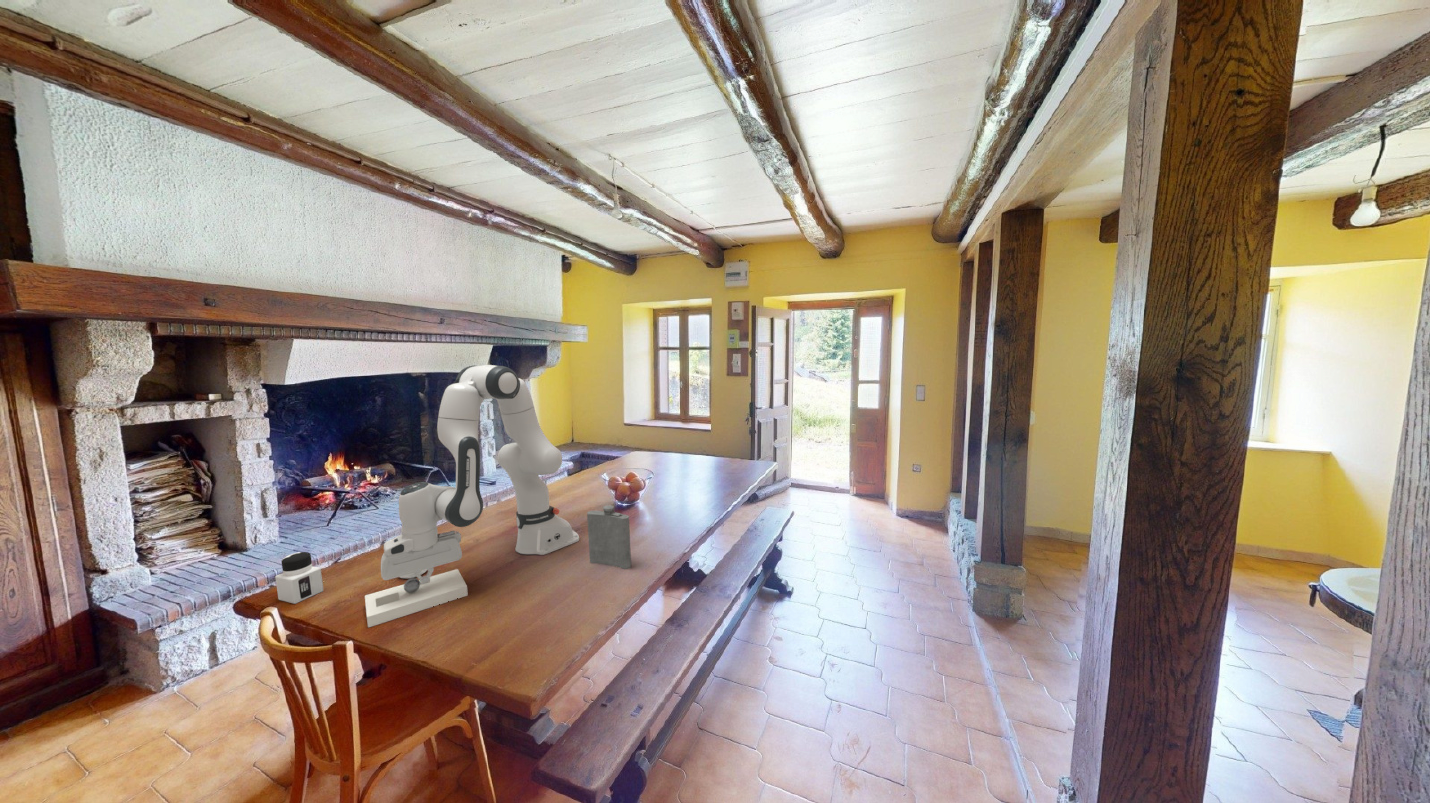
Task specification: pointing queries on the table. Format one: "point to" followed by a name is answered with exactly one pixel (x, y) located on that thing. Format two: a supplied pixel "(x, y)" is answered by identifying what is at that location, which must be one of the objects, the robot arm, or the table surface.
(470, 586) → the table surface
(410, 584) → the steel ball
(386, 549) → the robot arm
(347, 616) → the table surface
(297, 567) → the container
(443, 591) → the hole board
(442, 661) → the table surface
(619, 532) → the hip flask
